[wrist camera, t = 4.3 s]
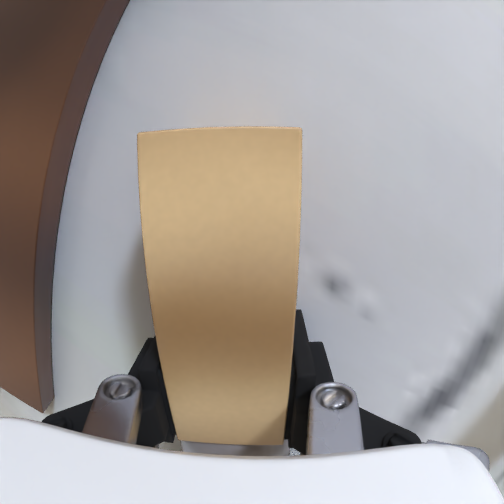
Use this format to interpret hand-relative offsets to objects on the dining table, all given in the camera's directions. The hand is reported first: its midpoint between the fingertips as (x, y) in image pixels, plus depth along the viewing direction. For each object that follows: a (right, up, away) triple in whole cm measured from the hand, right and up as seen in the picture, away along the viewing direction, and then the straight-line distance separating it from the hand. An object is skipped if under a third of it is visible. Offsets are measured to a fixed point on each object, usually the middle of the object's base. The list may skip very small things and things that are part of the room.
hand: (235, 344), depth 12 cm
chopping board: (-15, +7, -2) cm, 16 cm away
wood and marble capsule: (0, -2, +1) cm, 3 cm away
